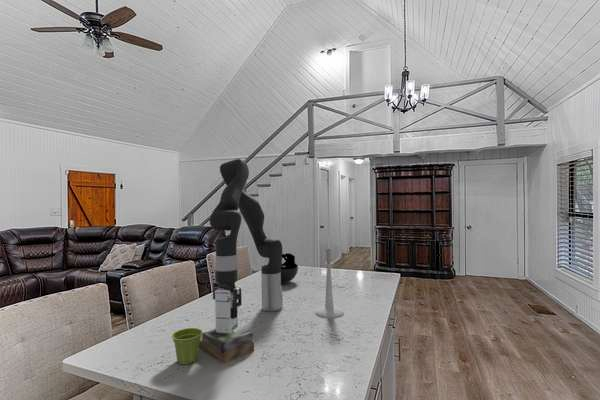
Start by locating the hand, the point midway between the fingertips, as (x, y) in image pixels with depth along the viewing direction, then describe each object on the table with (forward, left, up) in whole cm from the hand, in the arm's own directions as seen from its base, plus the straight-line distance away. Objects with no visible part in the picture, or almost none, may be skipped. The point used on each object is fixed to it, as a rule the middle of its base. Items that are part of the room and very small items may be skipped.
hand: (226, 315), depth 109 cm
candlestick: (-52, +4, -12) cm, 54 cm away
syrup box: (0, 0, -5) cm, 5 cm away
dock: (0, -3, -12) cm, 12 cm away
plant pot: (+13, -4, -12) cm, 18 cm away
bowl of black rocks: (-76, -52, -12) cm, 93 cm away
